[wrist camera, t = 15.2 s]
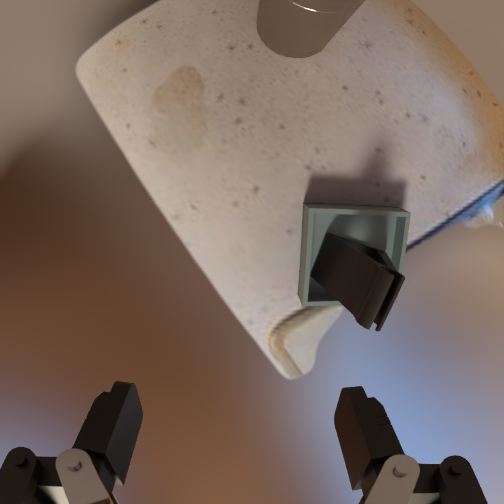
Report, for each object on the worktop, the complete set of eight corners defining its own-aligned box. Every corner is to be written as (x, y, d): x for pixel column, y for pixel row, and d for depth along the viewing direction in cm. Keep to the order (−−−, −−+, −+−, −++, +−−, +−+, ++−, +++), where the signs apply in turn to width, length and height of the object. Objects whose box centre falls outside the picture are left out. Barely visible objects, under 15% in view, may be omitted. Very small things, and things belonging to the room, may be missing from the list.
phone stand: (385, 251, 40) (431, 287, 28) (368, 291, 41) (405, 337, 30) (326, 231, 38) (359, 264, 27) (309, 274, 40) (333, 321, 29)
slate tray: (303, 203, 38) (309, 208, 35) (398, 207, 39) (410, 212, 35) (297, 294, 42) (302, 306, 39) (386, 291, 42) (396, 302, 39)
